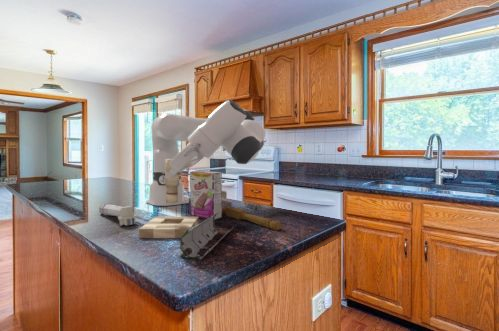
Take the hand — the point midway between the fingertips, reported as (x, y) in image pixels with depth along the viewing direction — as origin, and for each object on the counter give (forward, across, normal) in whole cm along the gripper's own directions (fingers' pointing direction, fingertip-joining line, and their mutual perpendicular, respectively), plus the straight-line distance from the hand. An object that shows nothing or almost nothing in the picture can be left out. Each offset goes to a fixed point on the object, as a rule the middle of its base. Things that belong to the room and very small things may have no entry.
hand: (170, 176), depth 93 cm
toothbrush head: (+28, +13, +4) cm, 31 cm away
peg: (+5, 0, -6) cm, 8 cm away
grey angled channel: (+2, -13, -22) cm, 25 cm away
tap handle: (-5, +11, -28) cm, 31 cm away
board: (+11, -2, -12) cm, 16 cm away
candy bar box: (+6, +16, -18) cm, 25 cm away
